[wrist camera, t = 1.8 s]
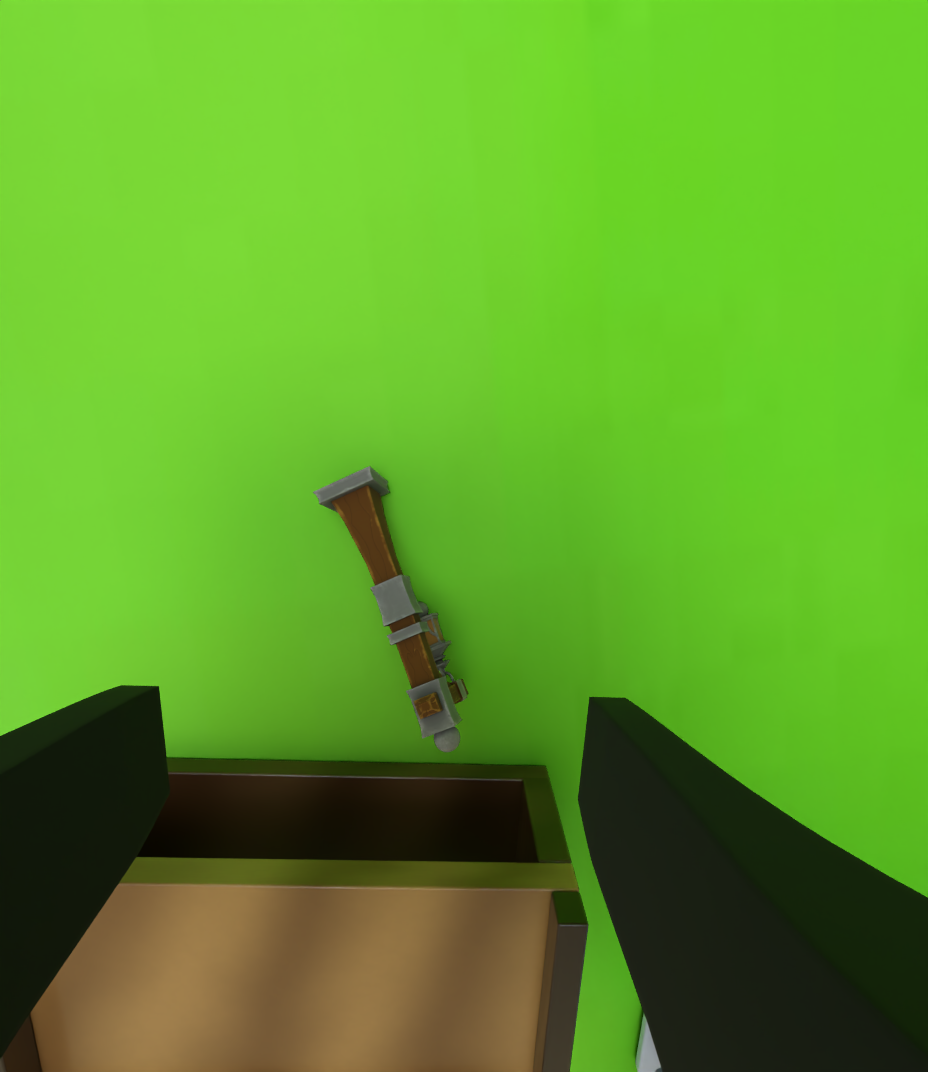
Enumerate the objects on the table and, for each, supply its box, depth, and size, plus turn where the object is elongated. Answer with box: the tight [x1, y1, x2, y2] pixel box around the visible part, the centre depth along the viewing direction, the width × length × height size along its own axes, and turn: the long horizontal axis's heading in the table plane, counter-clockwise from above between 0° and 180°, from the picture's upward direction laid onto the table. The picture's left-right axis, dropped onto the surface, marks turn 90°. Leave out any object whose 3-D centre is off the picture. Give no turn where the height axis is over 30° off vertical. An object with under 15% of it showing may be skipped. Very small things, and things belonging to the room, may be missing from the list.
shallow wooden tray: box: [0, 758, 588, 1072], centre depth 17 cm, size 16×10×7 cm, turn 87°
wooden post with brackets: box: [313, 466, 468, 752], centre depth 16 cm, size 2×8×4 cm, turn 24°
